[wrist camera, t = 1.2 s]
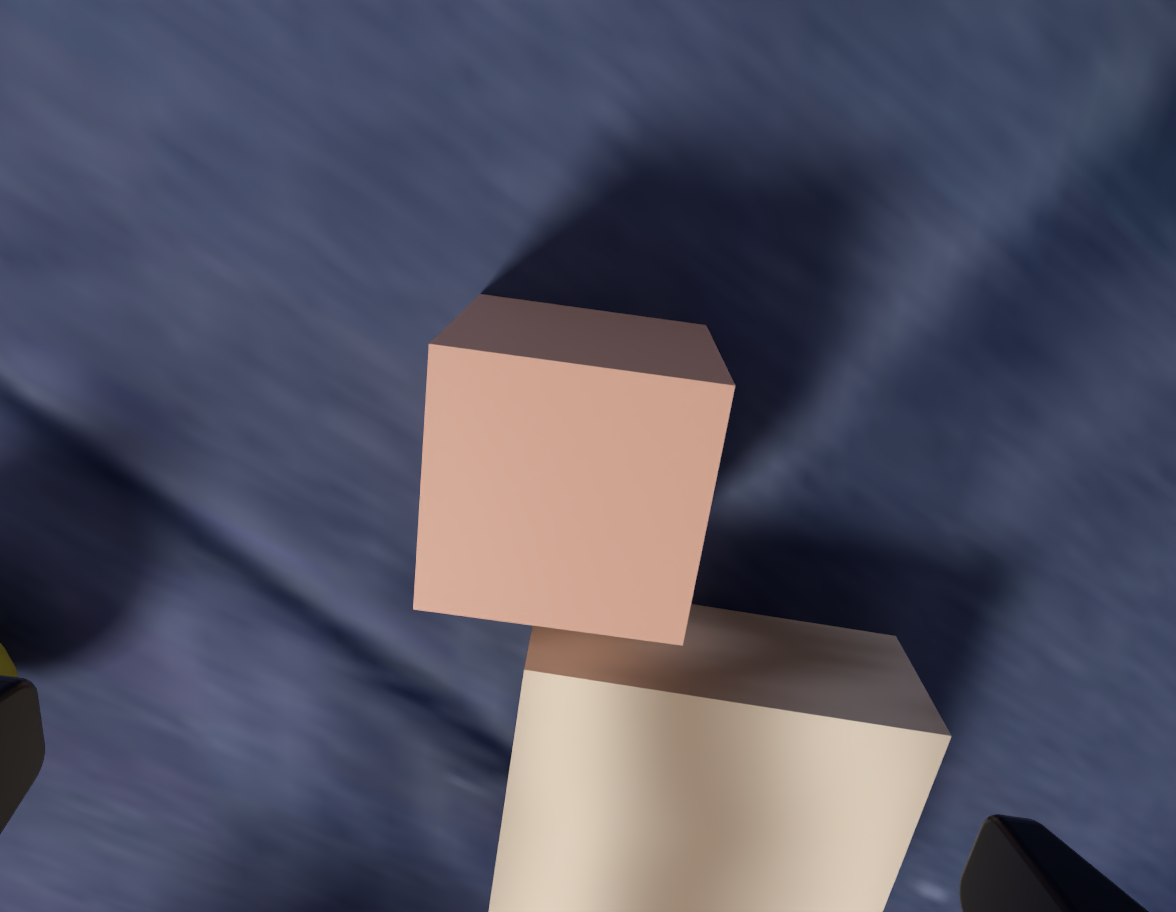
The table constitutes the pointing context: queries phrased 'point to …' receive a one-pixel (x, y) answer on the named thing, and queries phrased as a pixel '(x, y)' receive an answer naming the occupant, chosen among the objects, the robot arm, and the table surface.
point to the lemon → (6, 664)
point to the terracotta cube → (568, 467)
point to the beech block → (715, 770)
